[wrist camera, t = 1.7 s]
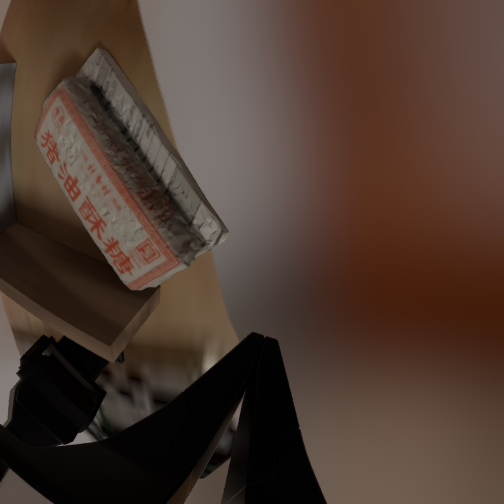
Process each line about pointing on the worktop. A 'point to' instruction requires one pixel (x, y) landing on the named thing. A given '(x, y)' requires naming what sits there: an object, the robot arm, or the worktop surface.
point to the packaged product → (124, 176)
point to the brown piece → (62, 270)
